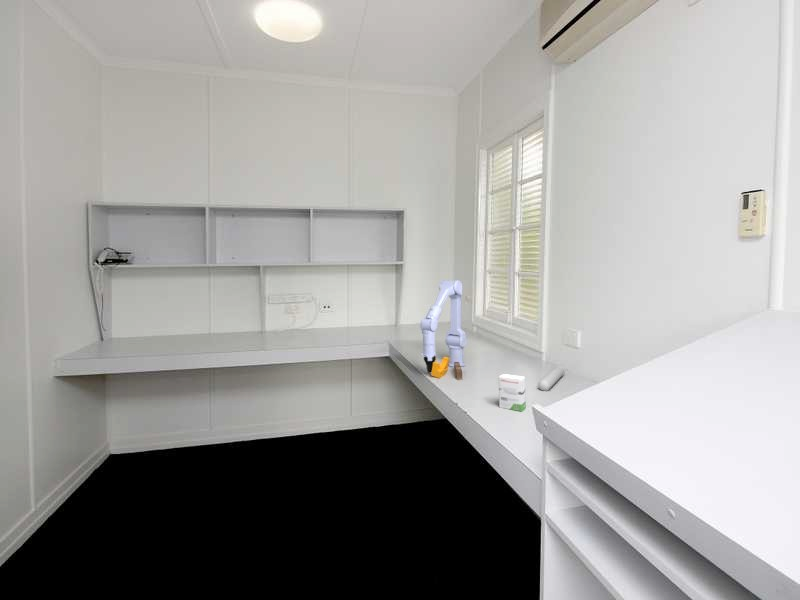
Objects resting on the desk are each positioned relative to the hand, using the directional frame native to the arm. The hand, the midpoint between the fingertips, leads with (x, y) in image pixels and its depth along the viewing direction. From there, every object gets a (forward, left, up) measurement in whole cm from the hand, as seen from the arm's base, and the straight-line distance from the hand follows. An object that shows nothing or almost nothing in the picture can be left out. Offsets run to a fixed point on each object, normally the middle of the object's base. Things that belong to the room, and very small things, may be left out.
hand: (430, 372), depth 192 cm
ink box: (+43, +29, -2) cm, 52 cm away
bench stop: (0, +13, -1) cm, 13 cm away
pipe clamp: (-1, +5, -1) cm, 5 cm away
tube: (+15, +52, -2) cm, 54 cm away
